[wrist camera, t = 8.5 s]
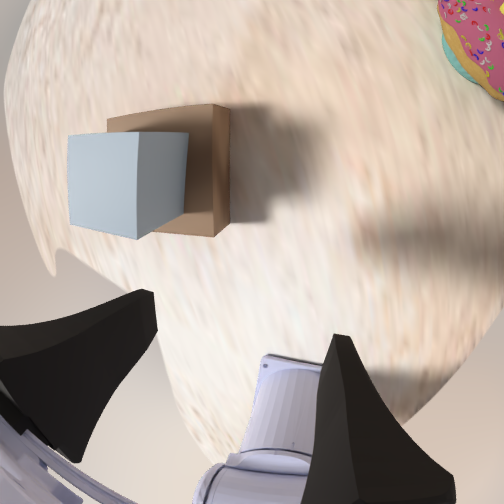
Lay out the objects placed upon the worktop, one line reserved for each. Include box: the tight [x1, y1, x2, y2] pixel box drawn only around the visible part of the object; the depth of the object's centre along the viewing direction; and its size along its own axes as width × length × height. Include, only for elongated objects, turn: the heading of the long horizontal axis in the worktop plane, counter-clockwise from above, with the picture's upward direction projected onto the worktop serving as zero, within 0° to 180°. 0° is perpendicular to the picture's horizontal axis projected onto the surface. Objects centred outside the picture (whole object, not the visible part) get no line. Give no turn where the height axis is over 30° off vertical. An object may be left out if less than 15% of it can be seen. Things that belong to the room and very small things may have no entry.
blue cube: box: [67, 132, 189, 240], centre depth 14 cm, size 5×5×5 cm
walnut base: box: [107, 104, 230, 237], centre depth 18 cm, size 8×8×4 cm
